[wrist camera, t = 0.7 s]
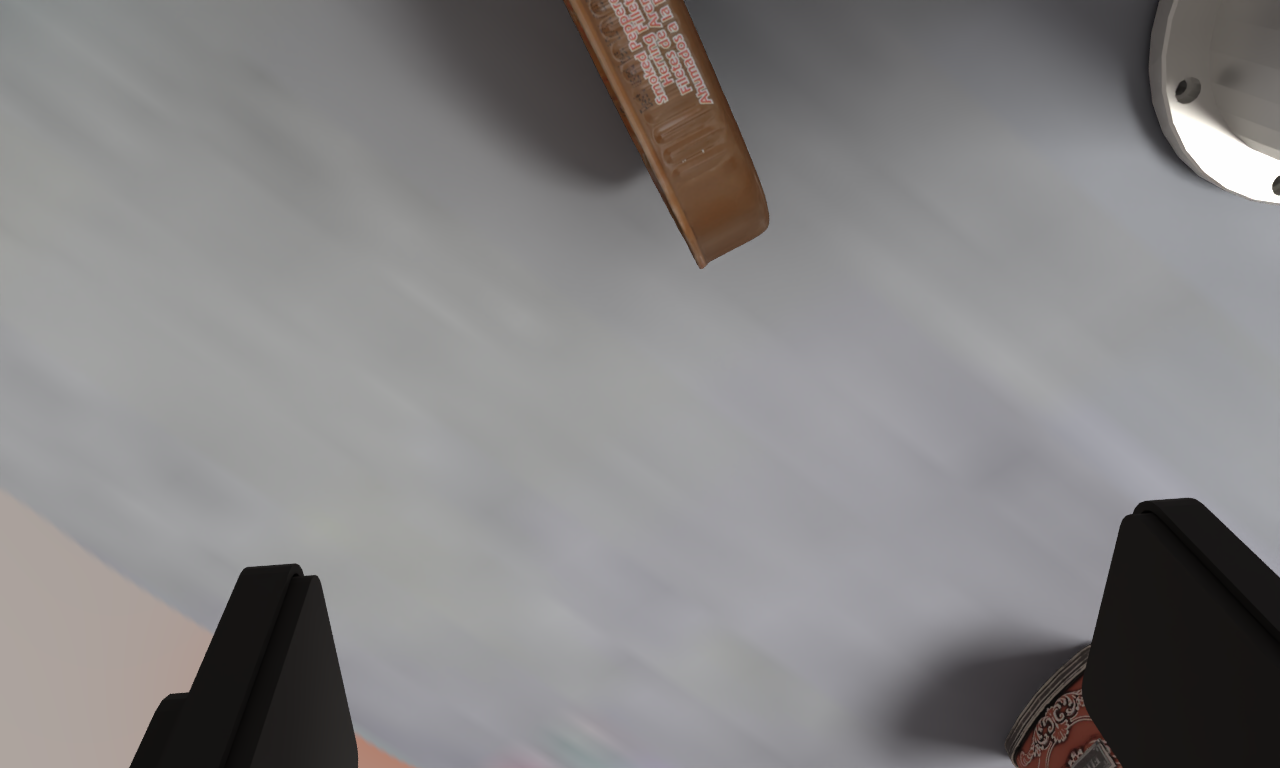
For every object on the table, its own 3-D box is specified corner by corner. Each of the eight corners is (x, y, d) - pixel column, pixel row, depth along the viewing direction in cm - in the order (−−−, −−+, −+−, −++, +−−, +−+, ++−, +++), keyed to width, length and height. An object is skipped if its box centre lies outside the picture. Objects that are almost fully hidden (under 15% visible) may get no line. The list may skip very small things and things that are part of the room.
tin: (457, -213, 29) (419, -242, 22) (552, -269, 28) (545, -317, 21) (673, 224, 36) (701, 318, 28) (753, 185, 35) (802, 270, 28)
